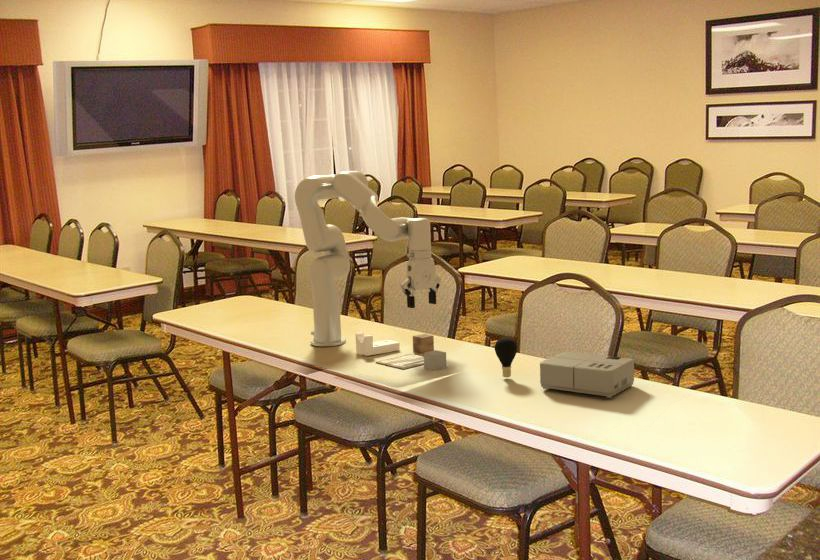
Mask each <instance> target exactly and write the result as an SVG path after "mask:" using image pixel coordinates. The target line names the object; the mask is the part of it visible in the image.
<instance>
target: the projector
mask: <svg viewBox="0 0 820 560" xmlns="http://www.w3.org/2000/svg"><path fill="white" fill-rule="evenodd" d="M539 377H540V379H539V381H540V382H539V383H540V386H541V387H542V389H543V390H548V389H550V390H551V389H553V390H557V391H558V390H560V391H567V392H572V393H573V392H574V393H581V394H586V395H587V394H588V395H595V396H596V395H597V396H602V397H603V396H604V397H606V398H607V399H612V397H613V396H616V395H617V394H618V393H620V392H623V391H624V390H625V389H628V388H630V387H632V386H633V385H634V382H635V360H634V359H633V358H630V357H621V356H610V355H604V354H603V355H602V354H593V353H584V352H575V351H563V352H560V353H558V354H555V355H554V356H551V357H548V358H547V359H544V360H542V361H540V362H539Z"/></svg>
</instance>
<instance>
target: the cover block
mask: <svg viewBox="0 0 820 560" xmlns="http://www.w3.org/2000/svg"><path fill="white" fill-rule="evenodd" d="M423 356H424V365H423V368H424V369H426V370H431V371H440V370H444V369H447V368H448V366H447V352H446V351H442V350H437V349H436V350H435V349H434V351H430V352H425V353H423Z"/></svg>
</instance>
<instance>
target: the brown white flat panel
mask: <svg viewBox="0 0 820 560" xmlns="http://www.w3.org/2000/svg"><path fill="white" fill-rule="evenodd" d="M375 364H378V365H383V366H387V367H391V368H396V369H399V370H404V371H405V370H407V369H412V368H417V367H421V366H424V355H418V354H413V353H410V354H405V355H400V356H397V357H396V356H395V357H393V358H387V359H383V360H379V361H375Z"/></svg>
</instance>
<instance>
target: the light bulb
mask: <svg viewBox="0 0 820 560" xmlns="http://www.w3.org/2000/svg"><path fill="white" fill-rule="evenodd" d="M494 352H495V354H496V357H497V359H498V360H499V362H500V363H501V370H502V371H501V372H502V377H503V378H510V377H511V376H512V363H513V362H514V359H515V357H516V356H517V352H518V344H517V342H516V340H514V339H513V338H511V337H507V336H505V337H501V338H499V339H498V340H497V341H496V342H495V344H494Z"/></svg>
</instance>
